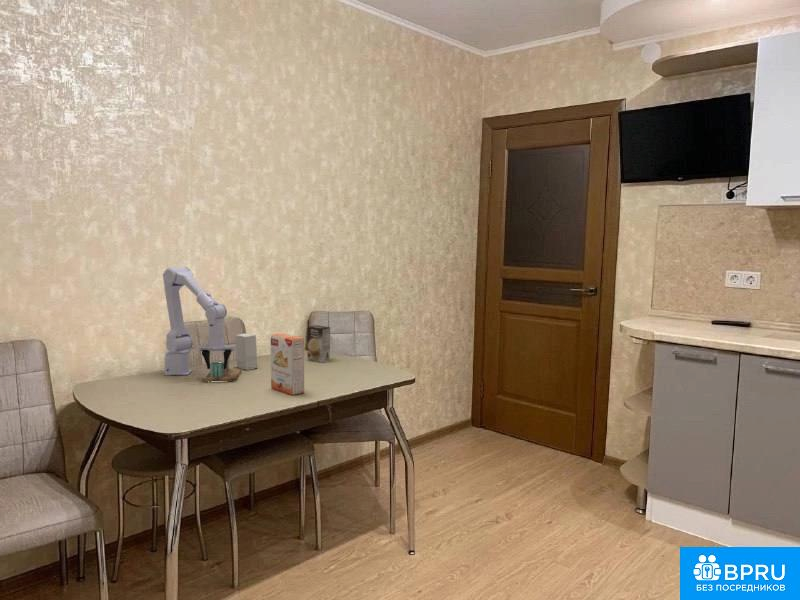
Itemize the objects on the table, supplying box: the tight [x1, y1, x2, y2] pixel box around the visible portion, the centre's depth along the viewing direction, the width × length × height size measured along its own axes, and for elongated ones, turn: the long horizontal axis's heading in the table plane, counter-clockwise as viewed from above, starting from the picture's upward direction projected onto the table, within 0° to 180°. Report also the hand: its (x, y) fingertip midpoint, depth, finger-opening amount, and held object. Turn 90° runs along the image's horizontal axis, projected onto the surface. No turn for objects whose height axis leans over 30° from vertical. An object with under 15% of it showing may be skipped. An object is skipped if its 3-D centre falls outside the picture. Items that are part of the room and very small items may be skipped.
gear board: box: [203, 368, 243, 383], centre depth 255 cm, size 12×18×4 cm, turn 7°
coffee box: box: [306, 324, 331, 364], centre depth 291 cm, size 9×6×16 cm
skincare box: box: [235, 333, 258, 371], centre depth 273 cm, size 8×6×15 cm
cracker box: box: [270, 333, 305, 396], centre depth 234 cm, size 14×6×21 cm, turn 45°
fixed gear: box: [212, 358, 230, 372], centre depth 260 cm, size 6×6×5 cm
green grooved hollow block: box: [209, 361, 224, 377], centre depth 251 cm, size 4×6×5 cm
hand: (216, 368), depth 251 cm, fingers open, 6 cm apart
